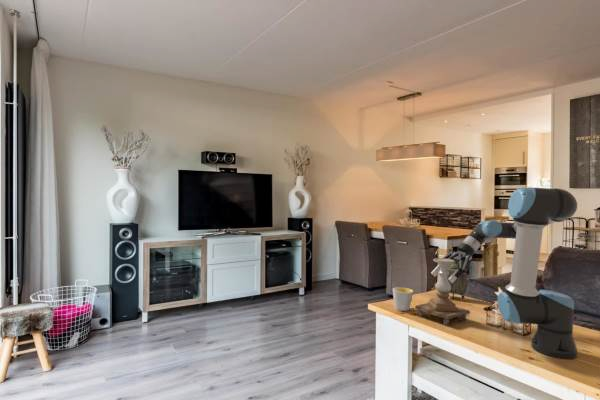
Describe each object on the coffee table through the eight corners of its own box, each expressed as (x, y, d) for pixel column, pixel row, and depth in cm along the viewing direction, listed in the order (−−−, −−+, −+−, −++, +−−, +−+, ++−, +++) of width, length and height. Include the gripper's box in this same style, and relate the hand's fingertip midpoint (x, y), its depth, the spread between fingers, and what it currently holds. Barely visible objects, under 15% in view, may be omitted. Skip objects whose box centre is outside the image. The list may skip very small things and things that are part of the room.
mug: (402, 313, 190) (403, 293, 190) (387, 308, 199) (388, 288, 198) (420, 310, 197) (421, 290, 197) (405, 304, 206) (406, 285, 206)
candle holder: (457, 312, 180) (460, 262, 179) (434, 311, 180) (437, 261, 179) (449, 305, 190) (451, 258, 190) (427, 304, 191) (429, 257, 190)
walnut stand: (469, 320, 183) (469, 310, 183) (447, 327, 173) (447, 316, 173) (437, 310, 198) (437, 301, 198) (415, 315, 187) (415, 305, 187)
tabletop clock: (466, 298, 224) (468, 256, 224) (466, 302, 216) (468, 258, 216) (440, 294, 230) (442, 254, 230) (439, 298, 222) (441, 256, 221)
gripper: (491, 256, 177) (462, 289, 173) (456, 248, 201) (430, 277, 197) (482, 245, 176) (453, 278, 172) (448, 238, 200) (422, 267, 196)
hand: (441, 278), depth 185 cm, fingers open, 13 cm apart
